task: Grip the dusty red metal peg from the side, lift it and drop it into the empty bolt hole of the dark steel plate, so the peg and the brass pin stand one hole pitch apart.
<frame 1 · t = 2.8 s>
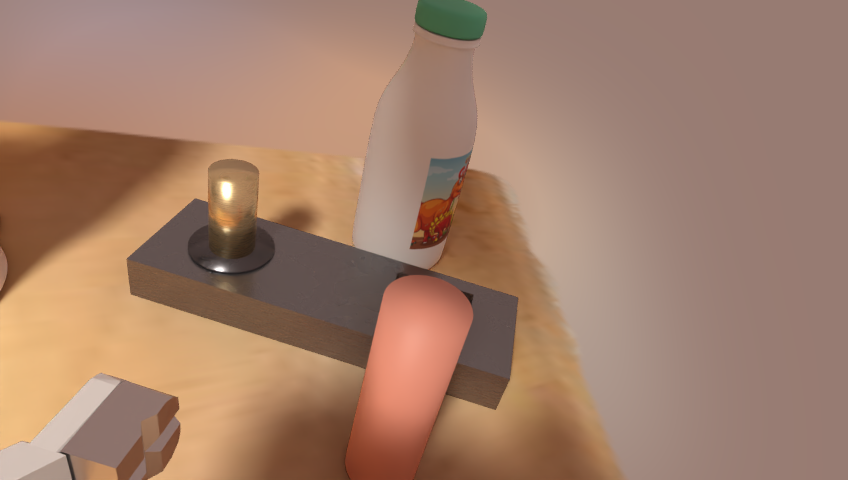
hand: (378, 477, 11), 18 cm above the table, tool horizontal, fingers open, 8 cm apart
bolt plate: (331, 311, 39), on the table
milk bottle: (395, 249, 47), on the table
red peg: (381, 462, 31), on the table
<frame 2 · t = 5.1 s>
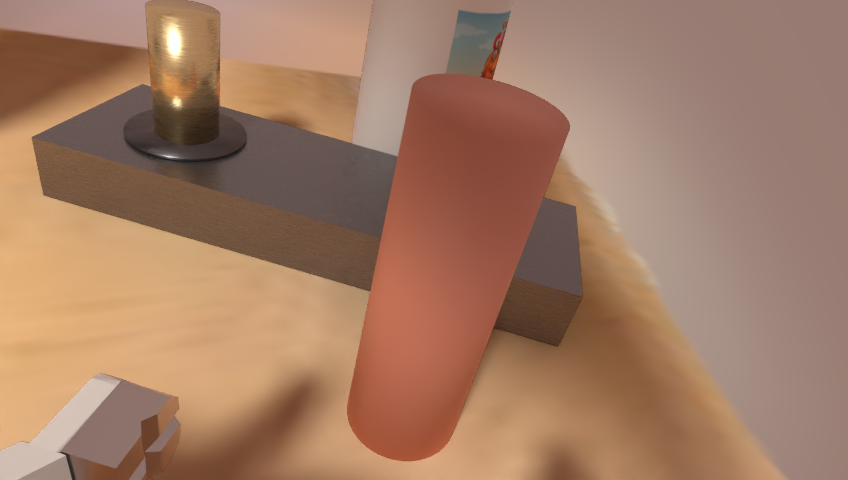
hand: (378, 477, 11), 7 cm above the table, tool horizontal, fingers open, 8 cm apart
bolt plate: (324, 225, 29), on the table
milk bottle: (407, 165, 37), on the table
red peg: (401, 411, 20), on the table
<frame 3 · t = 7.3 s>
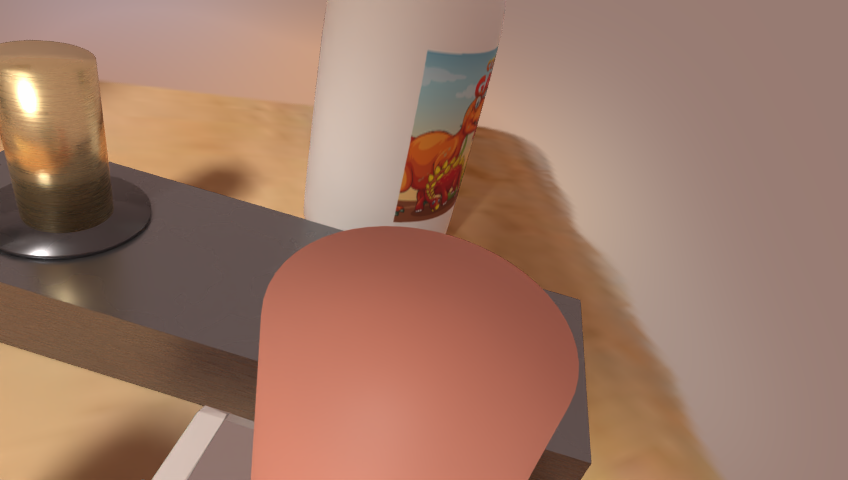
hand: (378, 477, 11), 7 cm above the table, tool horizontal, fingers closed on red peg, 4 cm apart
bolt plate: (254, 328, 22), on the table
milk bottle: (374, 228, 30), on the table
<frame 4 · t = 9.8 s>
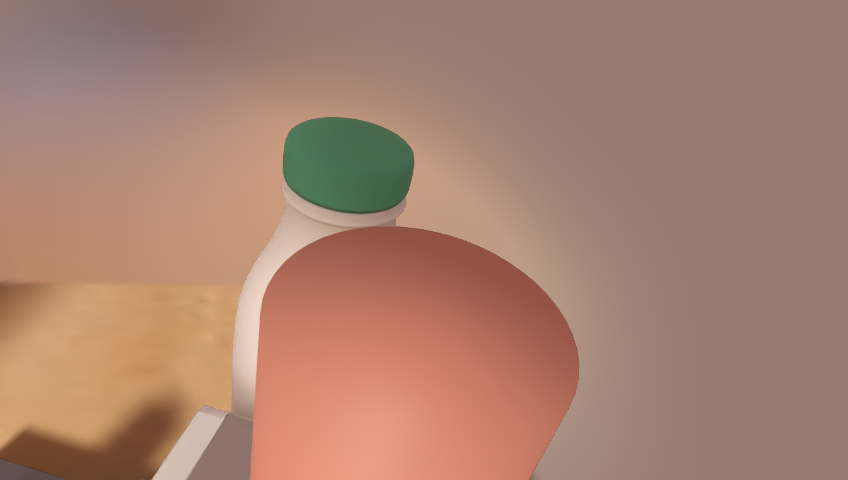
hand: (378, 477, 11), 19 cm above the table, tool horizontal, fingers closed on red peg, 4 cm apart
milk bottle: (303, 471, 31), on the table
when the fingers open (9 cm above the table, at t = 12.7 s): red peg drops 2 cm, resting in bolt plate.
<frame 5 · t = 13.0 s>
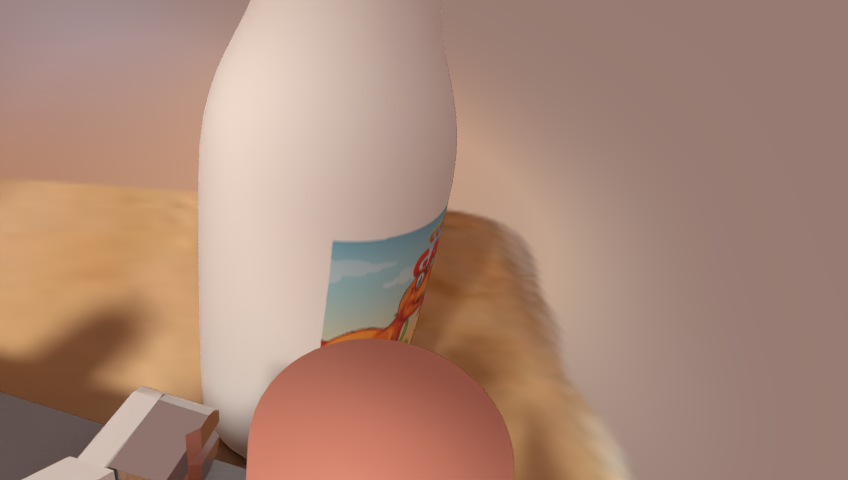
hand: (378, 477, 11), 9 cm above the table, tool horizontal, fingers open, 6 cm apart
milk bottle: (300, 396, 23), on the table
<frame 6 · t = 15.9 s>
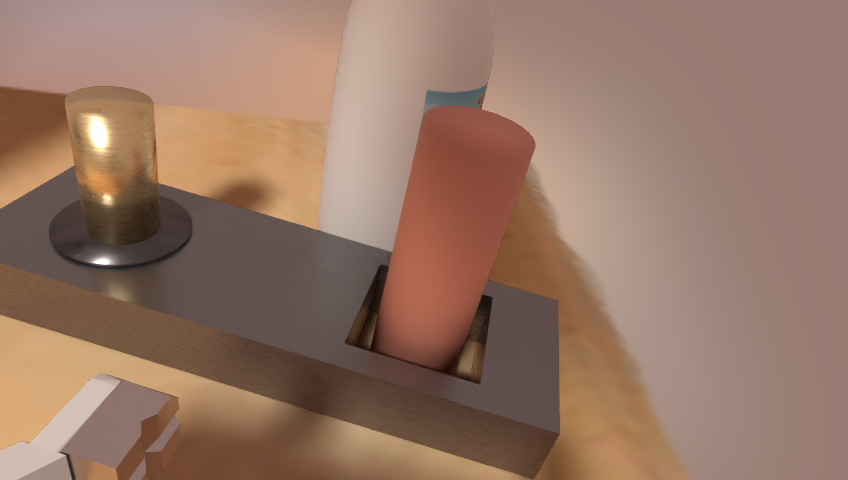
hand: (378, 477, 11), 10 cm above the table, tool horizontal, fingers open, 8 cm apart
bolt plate: (279, 324, 26), on the table
milk bottle: (379, 236, 34), on the table
red peg: (410, 365, 26), resting in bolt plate
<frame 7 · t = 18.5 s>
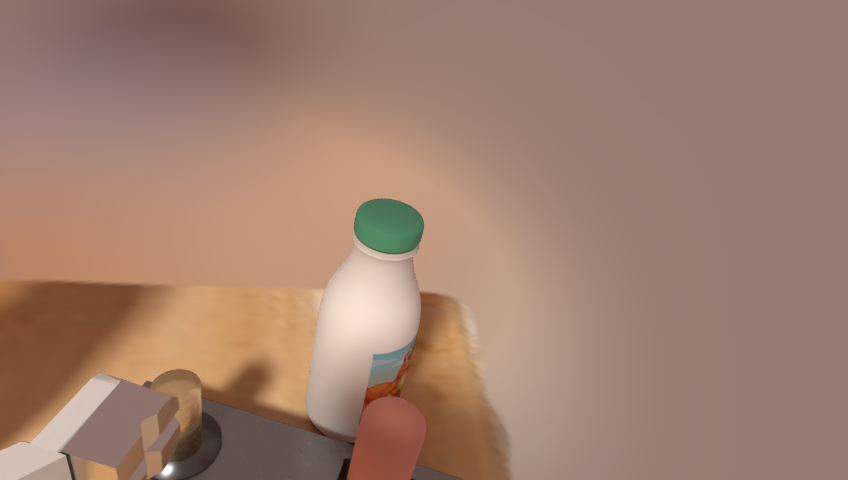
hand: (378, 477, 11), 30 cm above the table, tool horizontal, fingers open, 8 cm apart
milk bottle: (350, 408, 48), on the table
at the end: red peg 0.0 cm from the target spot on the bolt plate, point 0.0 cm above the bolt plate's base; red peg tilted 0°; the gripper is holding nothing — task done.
